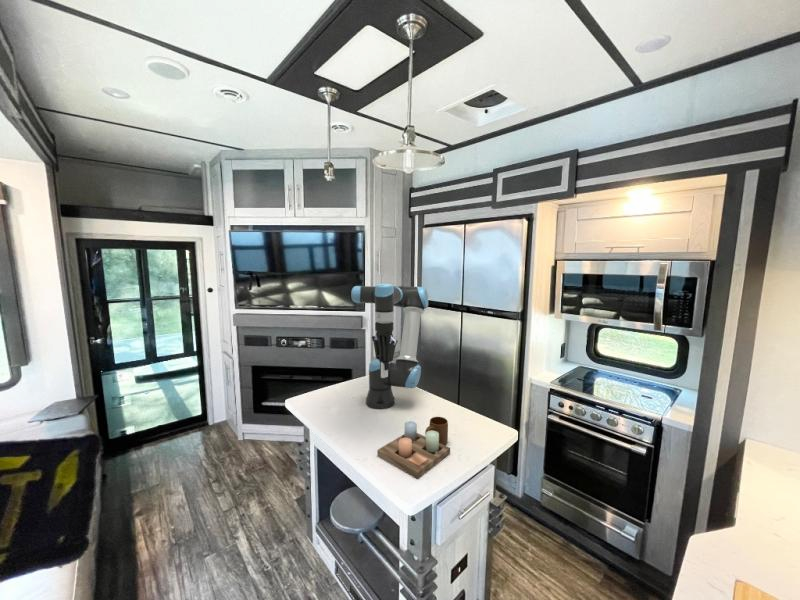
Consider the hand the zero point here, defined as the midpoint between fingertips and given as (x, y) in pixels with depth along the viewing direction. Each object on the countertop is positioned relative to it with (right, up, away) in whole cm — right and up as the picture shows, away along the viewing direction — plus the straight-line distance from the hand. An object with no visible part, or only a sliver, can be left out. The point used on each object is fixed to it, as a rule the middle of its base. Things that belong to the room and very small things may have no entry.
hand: (384, 376), depth 137 cm
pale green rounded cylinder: (+19, -25, -10) cm, 33 cm away
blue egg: (+11, -24, -3) cm, 27 cm away
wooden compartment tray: (+12, -28, -10) cm, 32 cm away
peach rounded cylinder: (+9, -27, -13) cm, 31 cm away
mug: (+21, -27, -3) cm, 34 cm away
